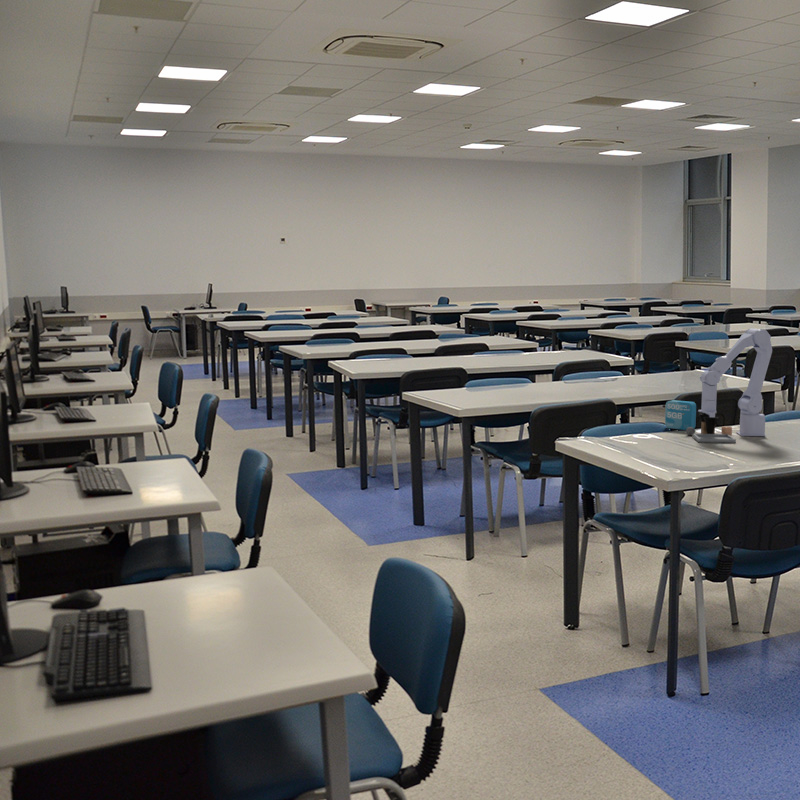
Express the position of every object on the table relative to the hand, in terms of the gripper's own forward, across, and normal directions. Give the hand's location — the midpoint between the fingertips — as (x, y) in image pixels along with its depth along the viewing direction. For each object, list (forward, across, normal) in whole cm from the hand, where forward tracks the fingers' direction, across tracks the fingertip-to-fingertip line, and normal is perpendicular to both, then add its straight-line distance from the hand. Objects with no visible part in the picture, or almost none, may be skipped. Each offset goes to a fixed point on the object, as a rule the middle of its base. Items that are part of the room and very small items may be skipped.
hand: (707, 432), depth 345 cm
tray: (+1, +11, 0) cm, 11 cm away
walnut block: (+2, 0, 0) cm, 2 cm away
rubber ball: (+1, 0, -7) cm, 7 cm away
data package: (+2, -17, -8) cm, 19 cm away
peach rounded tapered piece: (+2, +2, +7) cm, 7 cm away
